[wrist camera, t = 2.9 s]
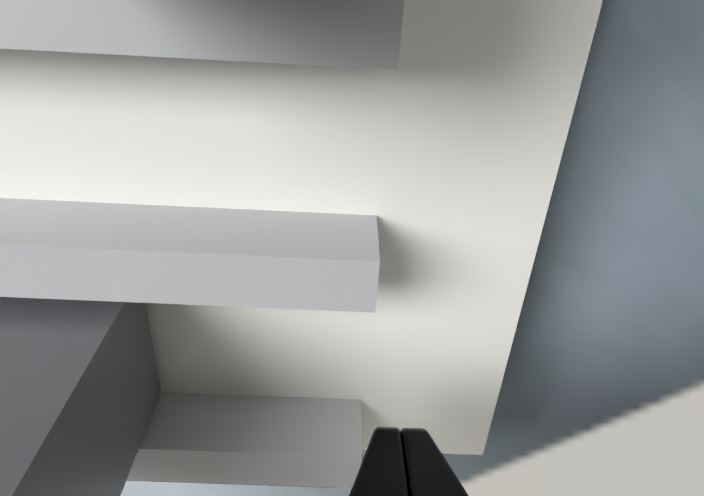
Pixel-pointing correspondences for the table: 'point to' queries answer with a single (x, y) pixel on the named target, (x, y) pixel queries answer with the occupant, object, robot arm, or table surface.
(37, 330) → the block
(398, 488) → the robot arm
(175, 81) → the breaker board
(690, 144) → the table surface
